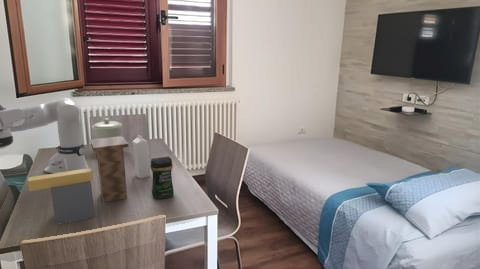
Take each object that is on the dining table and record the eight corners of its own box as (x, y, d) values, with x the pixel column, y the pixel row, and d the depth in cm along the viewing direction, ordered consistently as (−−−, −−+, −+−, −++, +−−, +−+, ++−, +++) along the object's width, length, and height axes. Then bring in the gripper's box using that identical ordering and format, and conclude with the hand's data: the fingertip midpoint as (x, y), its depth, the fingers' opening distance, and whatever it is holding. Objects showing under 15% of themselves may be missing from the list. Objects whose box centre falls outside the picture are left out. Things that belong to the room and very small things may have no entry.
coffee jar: (155, 201, 154) (152, 162, 149) (150, 194, 161) (148, 156, 156) (176, 197, 159) (174, 158, 154) (170, 190, 165) (168, 153, 160)
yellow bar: (29, 191, 129) (27, 181, 128) (29, 187, 133) (28, 177, 132) (92, 180, 139) (91, 171, 138) (91, 177, 143) (90, 167, 142)
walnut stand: (99, 205, 150) (93, 147, 143) (95, 193, 162) (90, 139, 155) (132, 198, 157) (128, 143, 150) (126, 187, 168) (122, 135, 162)
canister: (99, 146, 234) (95, 115, 229) (126, 145, 236) (124, 115, 231) (90, 154, 217) (87, 121, 211) (120, 153, 219) (117, 121, 213)
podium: (56, 224, 134) (50, 190, 130) (55, 213, 142) (50, 181, 139) (94, 216, 140) (91, 183, 136) (92, 206, 149) (88, 175, 145)
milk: (139, 178, 180) (136, 137, 174) (135, 175, 184) (131, 135, 178) (150, 175, 183) (147, 135, 177) (146, 172, 188) (143, 133, 182)
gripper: (-3, 135, 132) (36, 124, 140) (-3, 129, 115) (42, 117, 123) (-10, 119, 131) (30, 109, 139) (-11, 111, 114) (35, 100, 122)
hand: (36, 113), depth 131 cm, fingers open, 8 cm apart
